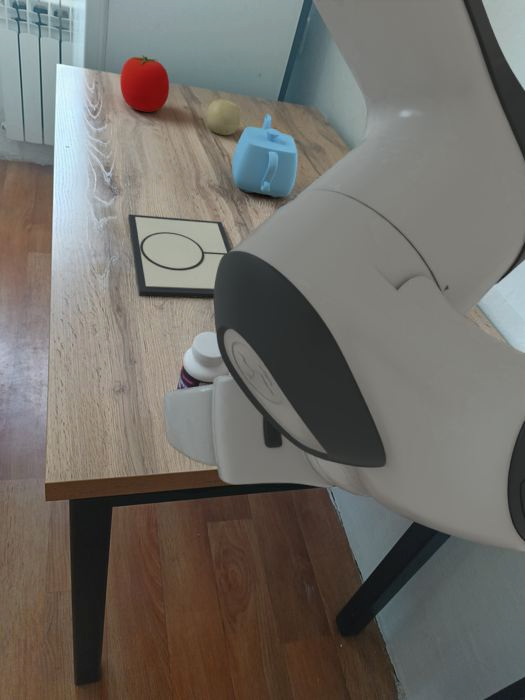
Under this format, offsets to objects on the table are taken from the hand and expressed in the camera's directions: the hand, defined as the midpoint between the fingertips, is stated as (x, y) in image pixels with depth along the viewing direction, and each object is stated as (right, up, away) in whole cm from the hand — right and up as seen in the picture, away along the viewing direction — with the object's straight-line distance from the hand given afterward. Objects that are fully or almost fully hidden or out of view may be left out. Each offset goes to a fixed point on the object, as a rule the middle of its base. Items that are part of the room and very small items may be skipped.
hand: (263, 397), depth 47 cm
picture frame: (-13, +19, +39) cm, 45 cm away
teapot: (-1, +39, +64) cm, 74 cm away
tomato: (-27, +59, +76) cm, 100 cm away
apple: (-10, +55, +77) cm, 95 cm away
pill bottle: (-8, -2, +18) cm, 20 cm away
